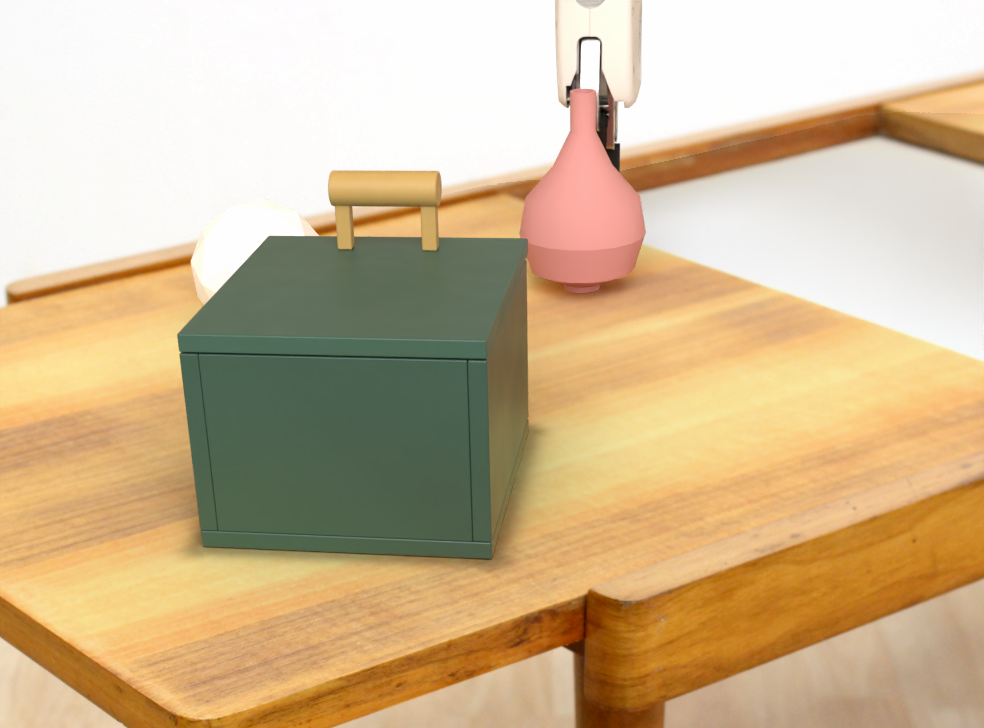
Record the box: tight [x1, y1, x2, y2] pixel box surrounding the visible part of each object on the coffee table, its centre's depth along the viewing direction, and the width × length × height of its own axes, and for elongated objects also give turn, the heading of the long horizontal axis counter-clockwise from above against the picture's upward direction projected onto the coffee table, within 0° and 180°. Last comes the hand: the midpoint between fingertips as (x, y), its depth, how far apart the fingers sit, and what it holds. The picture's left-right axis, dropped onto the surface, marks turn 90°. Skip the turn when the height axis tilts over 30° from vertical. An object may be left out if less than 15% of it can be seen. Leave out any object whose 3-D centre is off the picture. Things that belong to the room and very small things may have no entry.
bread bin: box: [179, 259, 530, 560], centre depth 70 cm, size 14×13×9 cm
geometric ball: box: [190, 198, 320, 306], centre depth 90 cm, size 8×8×8 cm
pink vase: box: [518, 88, 647, 294], centre depth 94 cm, size 8×8×12 cm
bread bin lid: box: [176, 169, 528, 359], centre depth 67 cm, size 14×13×4 cm
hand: (594, 204), depth 104 cm, fingers closed
